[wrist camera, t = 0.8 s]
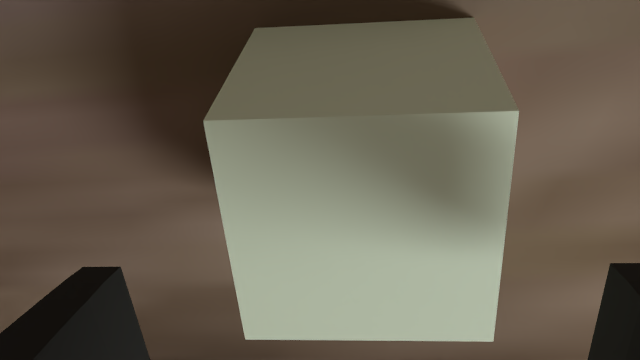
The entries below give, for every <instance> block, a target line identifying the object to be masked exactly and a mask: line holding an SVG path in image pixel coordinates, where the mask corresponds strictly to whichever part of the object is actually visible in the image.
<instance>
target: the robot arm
mask: <svg viewBox="0 0 640 360" xmlns="http://www.w3.org/2000/svg"><path fill="white" fill-rule="evenodd" d="M0 360H150V358H149V355H148V352H147V349H146V345H145V342H144V339H143V336H142V333H141V330H140V326H139V323H138V320H137V317H136V314H135V311H134V308H133V304H132V301H131V298H130V295H129V292H128V289H127V286H126V282H125V279H124V276H123V273H122V270H121V267H82V268H81V269H80V270H78V271H77V272H76V273H74V274H73V275H71V276H70V277H69V278H68V279H66V280H65V281H64V282H62V283H61V284H60V285H59V286H57V287H56V288H55V289H54V290H53V291H51V292H50V293H49V294H48V295H46V296H45V297H44V298H43V299H41V300H40V301H39V302H38V303H37V304H35V305H34V306H33V307H32V308H31V309H29V310H28V311H27V312H26V313H25V314H23V315H22V316H21V317H20V318H18V319H17V320H16V321H15V322H14V323H12V324H11V325H10V326H9V327H8V328H6V329H5V330H4V331H3V332H1V333H0ZM588 360H640V263H610V267H609V271H608V275H607V279H606V284H605V288H604V292H603V296H602V301H601V305H600V309H599V314H598V318H597V322H596V326H595V331H594V335H593V339H592V343H591V348H590V352H589V356H588Z"/></svg>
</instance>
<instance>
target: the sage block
mask: <svg viewBox="0 0 640 360" xmlns="http://www.w3.org/2000/svg"><path fill="white" fill-rule="evenodd" d="M518 116H519V110H518V108H517V106H516V104H515V102H514V99H513V97H512V95H511V93H510V91H509V89H508V87H507V85H506V83H505V81H504V79H503V77H502V75H501V73H500V70H499V68H498V66H497V64H496V62H495V60H494V58H493V56H492V54H491V52H490V50H489V48H488V46H487V44H486V41H485V39H484V37H483V35H482V33H481V31H480V29H479V27H478V25H477V23H476V21H475V19H474V18H455V19H434V20H413V21H392V22H372V23H351V24H330V25H309V26H289V27H268V28H255V29H254V31H253V33H252V34H251V36H250V38H249V40H248V41H247V43H246V45H245V47H244V49H243V50H242V52H241V54H240V56H239V58H238V59H237V61H236V63H235V65H234V66H233V68H232V70H231V72H230V74H229V75H228V77H227V79H226V81H225V83H224V84H223V86H222V88H221V90H220V91H219V93H218V95H217V97H216V99H215V100H214V102H213V104H212V106H211V108H210V109H209V111H208V113H207V115H206V116H205V118H204V120H203V123H204V128H205V133H206V139H207V144H208V149H209V154H210V159H211V165H212V170H213V175H214V180H215V185H216V191H217V196H218V201H219V206H220V211H221V216H222V222H223V227H224V232H225V237H226V242H227V248H228V253H229V258H230V263H231V268H232V274H233V279H234V284H235V289H236V294H237V299H238V305H239V310H240V315H241V320H242V325H243V331H244V336H245V340H361V341H485V342H493V340H494V331H495V322H496V313H497V304H498V295H499V286H500V277H501V268H502V259H503V250H504V241H505V232H506V223H507V214H508V205H509V196H510V187H511V178H512V169H513V160H514V151H515V142H516V134H517V125H518Z"/></svg>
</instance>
